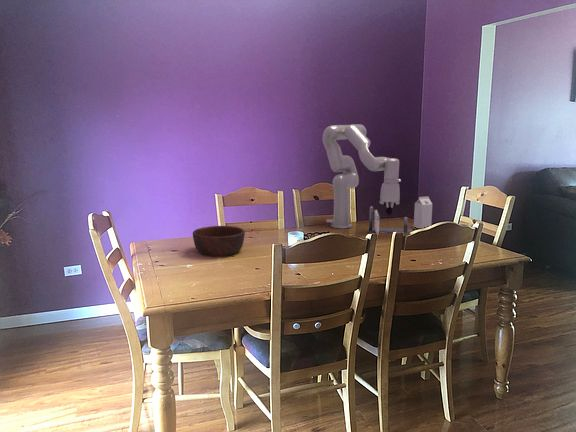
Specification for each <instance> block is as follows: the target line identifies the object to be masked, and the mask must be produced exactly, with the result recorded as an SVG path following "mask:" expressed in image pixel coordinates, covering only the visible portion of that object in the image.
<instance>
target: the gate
mask: <svg viewBox="0 0 576 432" xmlns="http://www.w3.org/2000/svg"><path fill="white" fill-rule="evenodd" d="M380 219H381V218H380V214H379V212H378V209H373V228H374V229H375V232H376V233H377V234H378V235H377V234H376V233H375V234H376V235H377V236H379V235H380V233H379V228H380Z"/></svg>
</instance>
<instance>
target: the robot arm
mask: <svg viewBox="0 0 576 432" xmlns="http://www.w3.org/2000/svg"><path fill="white" fill-rule="evenodd" d="M321 138H322V143H323V146H324V148H325V151H326V156H327V158H328V162H329V167H330V169H331V171H333V172H334V173H338V174H336V175H335V176H333V179H332V187H333V189H332V190H333V218H331V219H329V218H327V219H326V220H325V221H326V223H327V224H330V227H331V228H334V229H350V228H353V224H352V223H350V218H351V194H350V189H351V190H352V189H354V188H357V187H358V185H359V184H360V183H359V182H360V178H359V174H358V169H357V167H356V164H355V161H354V159H353V158H352V156H350V155H347V154H346V155H344V154H343V153H342V149H341V146H340V144H339V143H338V142H337V141H340V140H343V141H344V140H348V141H349V142H350V144H351V145H353V146H354V148H355V149H356V150H357V151H358V157H359V160H360V161H361V163H362V164H363V166H365V167H366V169H367V170H369V171H371V172H380V171H381V172H382V171H384V172H383V173H384V177H383V183H382V184H381V187H380V193H379V194H380V195H379V204H381V205H384V206H385V214H386V215H387V216H391V215H392V213H393V208H394V207H395V206H396V205H400V199H401V198H400V197H401V195H400V194H401V192H400V191H401V190H400V184H399V183H401V182H402V179H400V178H399V173H400V172H399V171H400V160H399V159H398V158H395V157H393V158H392V157H386V156H376V157H375V156H374V155H373V154H372V153H371V152H370V150H369V148H370V146H371V143H372V142H371V140H370V139H369V138H368V137H367V129H366V127H365V125H363V124H357V123H356V124H355V123H354V124H353V123H352V124H335V125H333V124H332V125H329V126H327V127H326V128H325V129H324V130H323V133H322V136H321ZM341 172H342V173H341ZM389 203H390V204H389Z"/></svg>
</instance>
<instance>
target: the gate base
mask: <svg viewBox="0 0 576 432" xmlns="http://www.w3.org/2000/svg"><path fill="white" fill-rule="evenodd" d="M368 215H369V216H368V217H369V218H368V227H367V233H368V232H371V234H373V233H374V234H376V233H375V229H374V228H373V224H374V206H373V205H371V206H369V214H368ZM408 222H409V217H408V216H404V219H403V228H401V227H400V228H399V227H398V228H397V227H379V232H385V233H384V234H389V233H393V232H395V231H397V232H404V233H408V234H407V235H410V234H409V233H410V232H412V231H413V228H408V226H409V225H408V224H409V223H408ZM386 232H387V233H386ZM413 232H414V231H413Z"/></svg>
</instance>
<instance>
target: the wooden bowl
mask: <svg viewBox="0 0 576 432" xmlns="http://www.w3.org/2000/svg"><path fill="white" fill-rule="evenodd" d="M192 239H193V243H194V247H195V249H196V251H197V252H198V253H199V255H200V254H201V255H203V256H205V257H218V258H219V257H228V256H233V255H236V254H238V253H239V252H240V251H241V250H242V248H243V245H244V242H245V229H243V228H242V227H239V226H232V225H211V226H205V227H204V226H203V227H200V228H196V229H194V230H193V231H192Z"/></svg>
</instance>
